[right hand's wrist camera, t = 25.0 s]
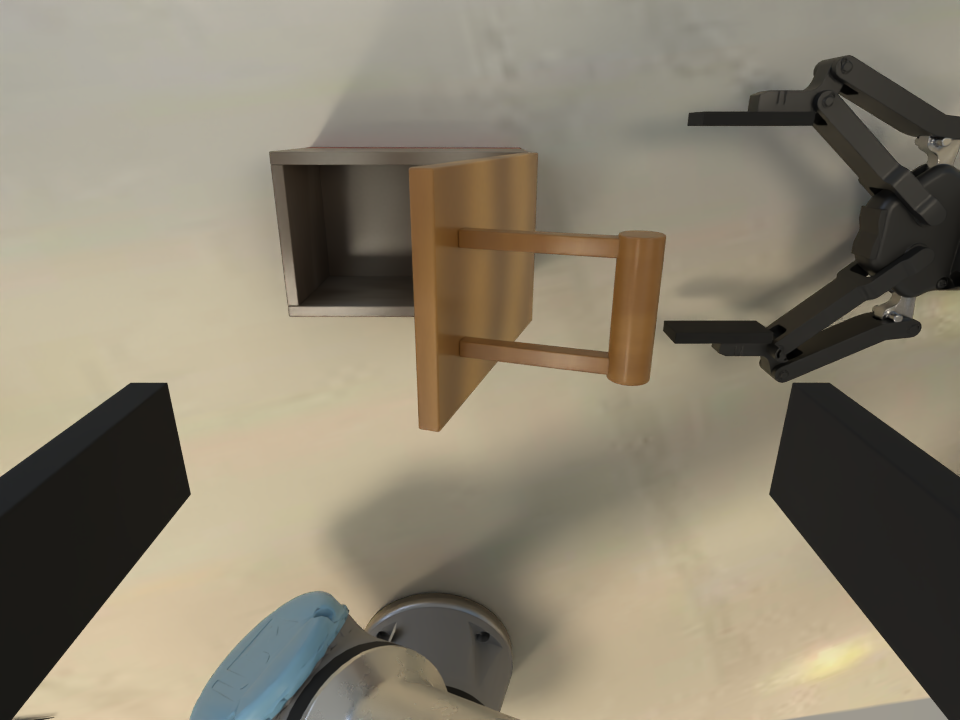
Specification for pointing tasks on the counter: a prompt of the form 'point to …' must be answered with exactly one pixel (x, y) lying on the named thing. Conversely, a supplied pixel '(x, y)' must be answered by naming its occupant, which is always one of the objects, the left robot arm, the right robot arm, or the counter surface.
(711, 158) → the counter surface
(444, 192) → the lid
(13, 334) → the counter surface
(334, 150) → the chest
